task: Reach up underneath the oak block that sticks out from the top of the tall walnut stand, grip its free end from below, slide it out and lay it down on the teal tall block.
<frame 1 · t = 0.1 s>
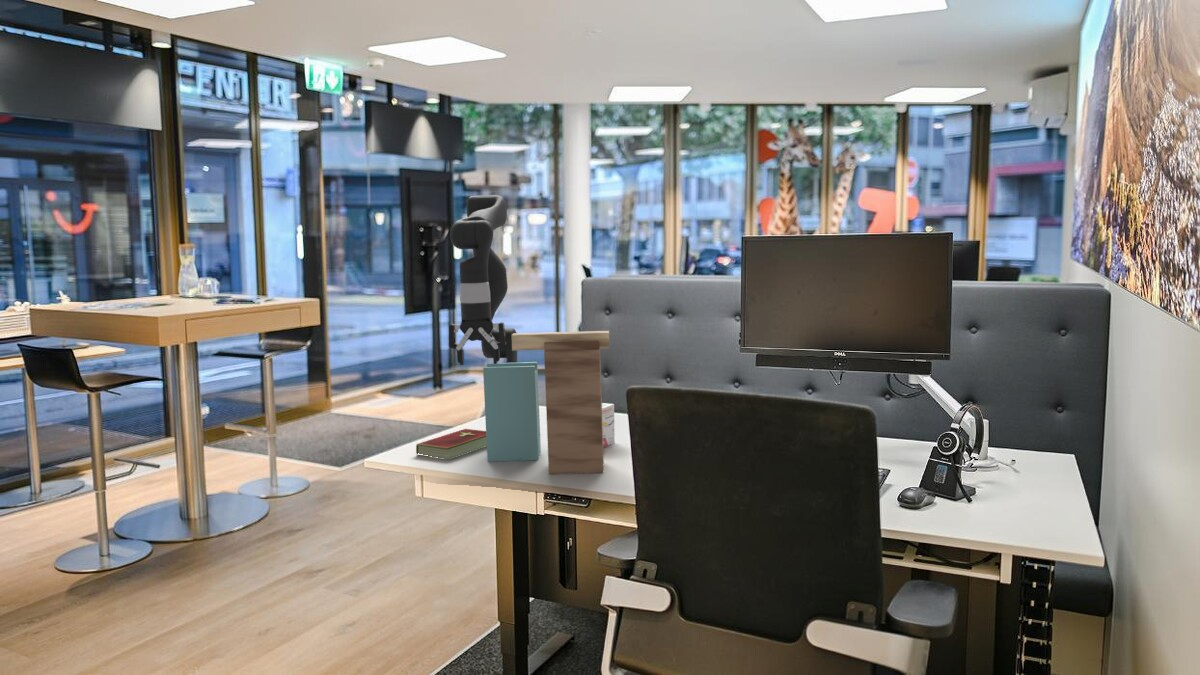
hand: (478, 363, 219), 29 cm above the table, tool pointing down, fingers open, 8 cm apart
walnut stand: (576, 468, 227), on the table
oak block: (561, 348, 223), point 32 cm above the table, touching walnut stand
hardcover book: (457, 451, 251), on the table
teal tall block: (514, 456, 240), on the table
ink cartridge box: (601, 445, 251), on the table
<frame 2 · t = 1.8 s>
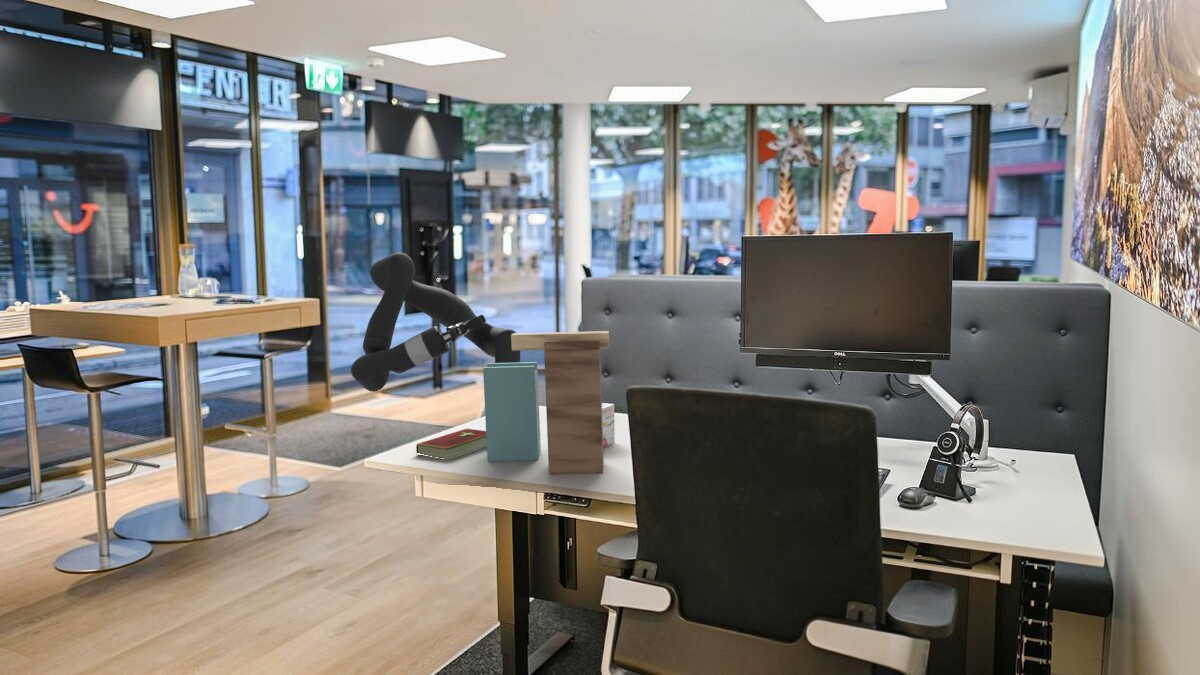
hand: (482, 318, 223), 40 cm above the table, tool pointing upward, fingers open, 8 cm apart
nothing on the table moved.
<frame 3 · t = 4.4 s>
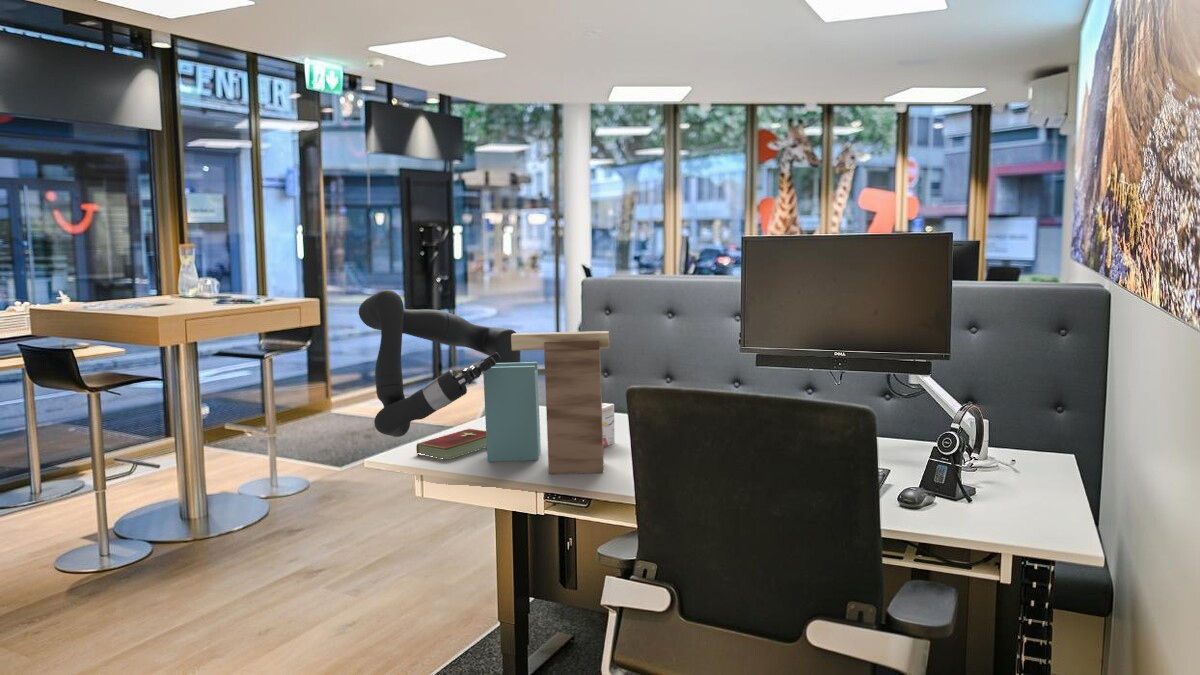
hand: (496, 357, 224), 30 cm above the table, tool pointing upward, fingers open, 8 cm apart
nothing on the table moved.
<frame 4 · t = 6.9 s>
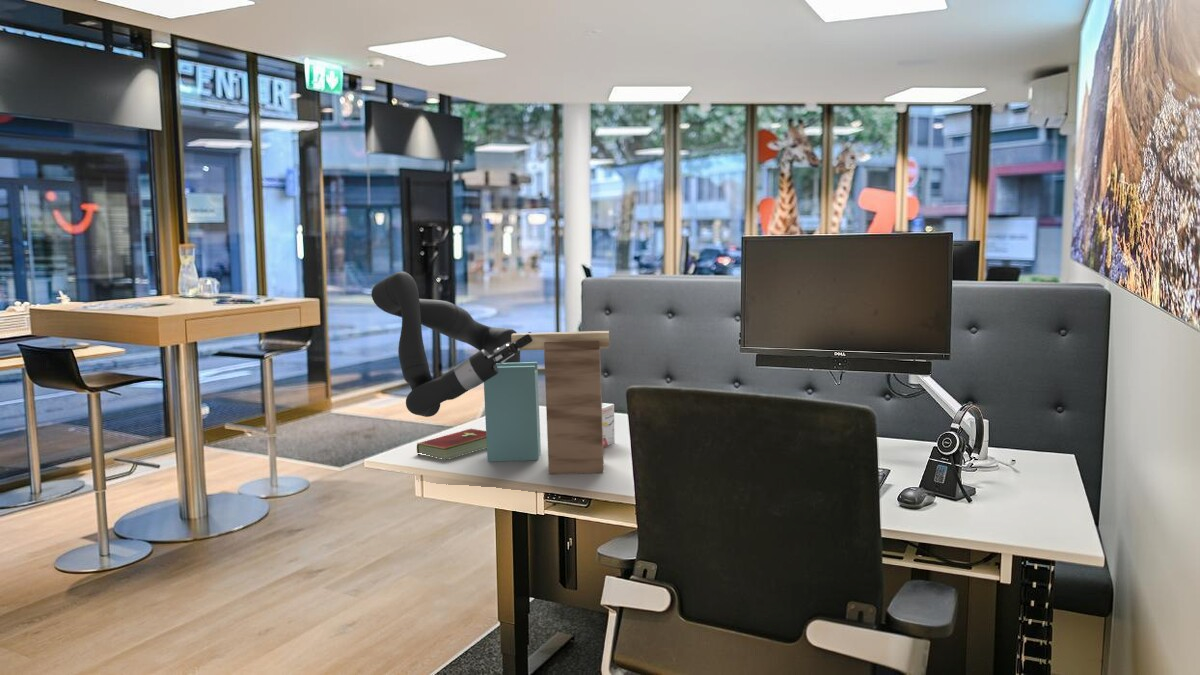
hand: (531, 336, 223), 35 cm above the table, tool pointing upward, fingers closed on oak block, 4 cm apart
oak block: (561, 348, 223), point 32 cm above the table, touching gripper, walnut stand
everything else where it was.
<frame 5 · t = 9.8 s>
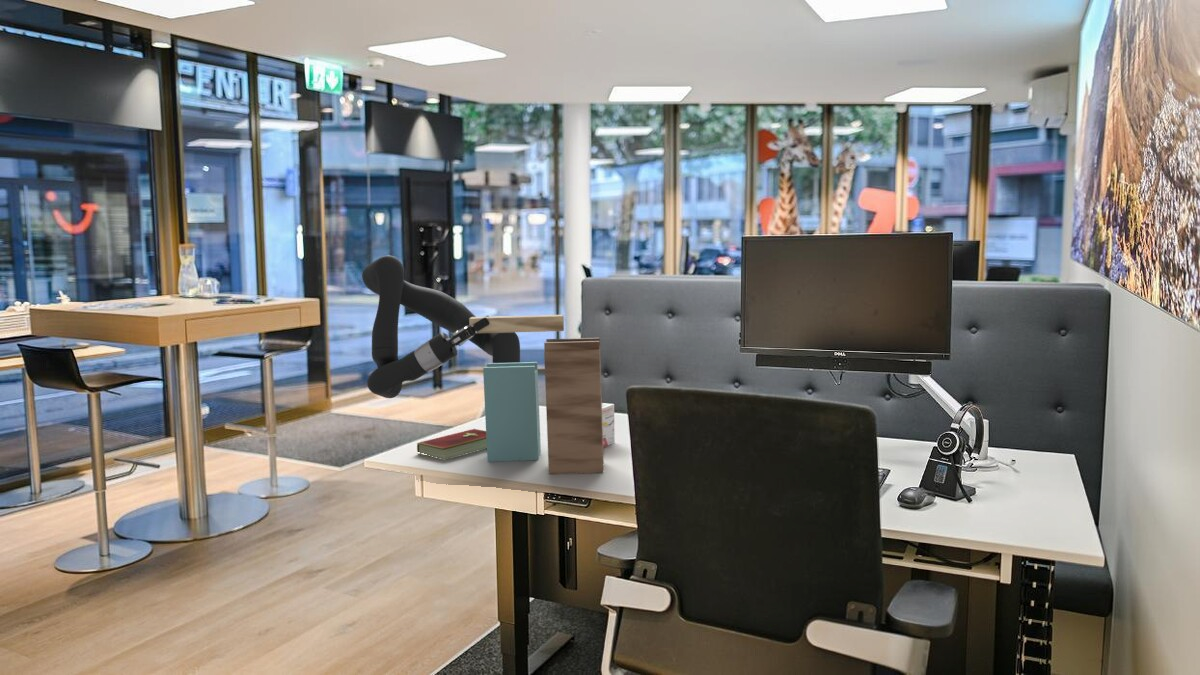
hand: (488, 319, 232), 39 cm above the table, tool pointing upward, fingers closed on oak block, 4 cm apart
oak block: (517, 331, 232), point 36 cm above the table, touching gripper
when the fingers open (29 cm above the table, at t = 12.6 s): oak block drops 1 cm, resting on teal tall block.
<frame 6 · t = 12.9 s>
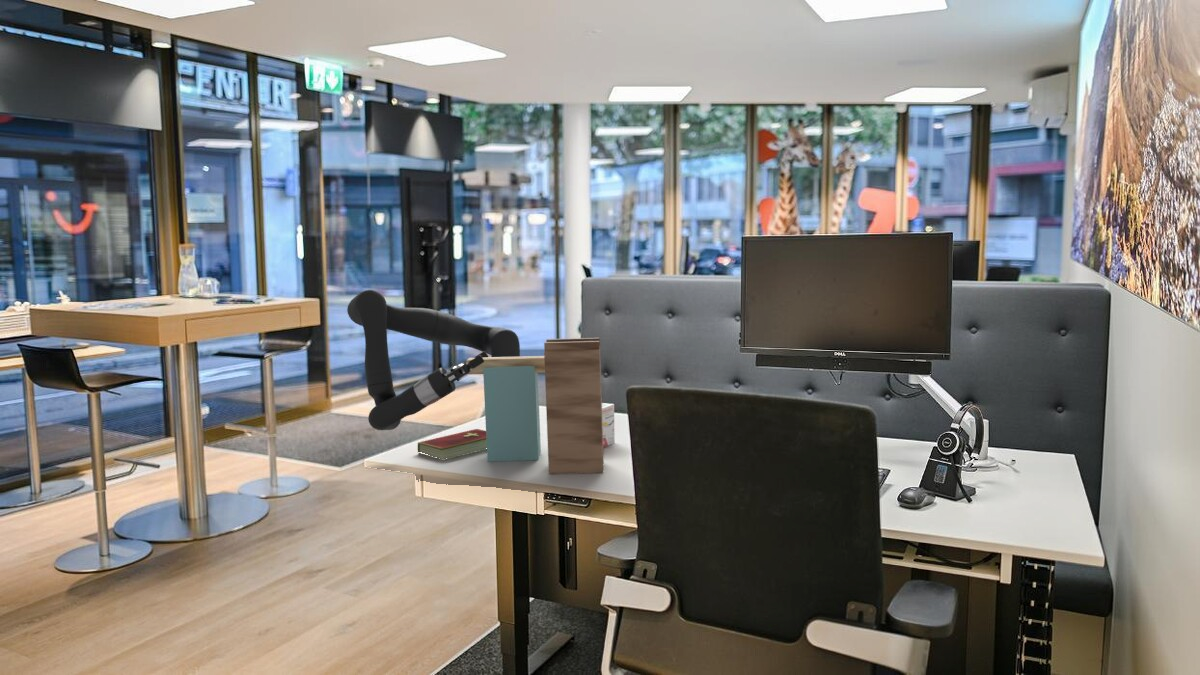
hand: (484, 356, 237), 29 cm above the table, tool pointing upward, fingers open, 7 cm apart
oak block: (513, 372, 237), point 24 cm above the table, touching teal tall block
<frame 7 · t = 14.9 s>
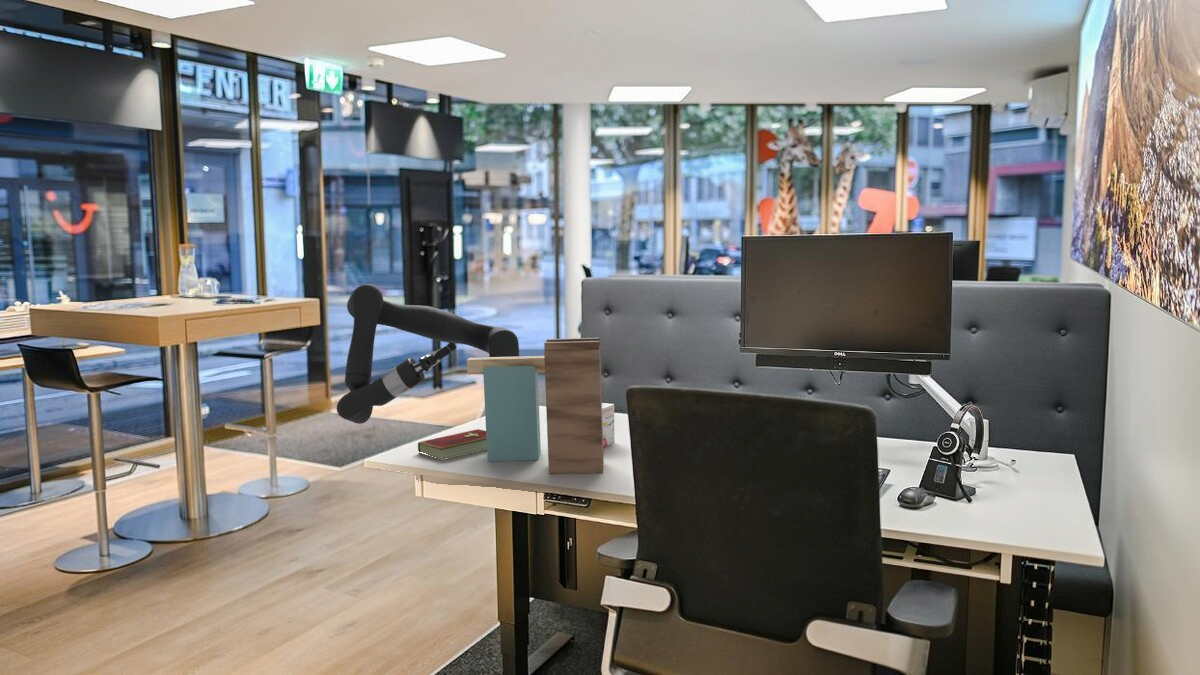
hand: (452, 346, 237), 32 cm above the table, tool pointing upward, fingers open, 8 cm apart
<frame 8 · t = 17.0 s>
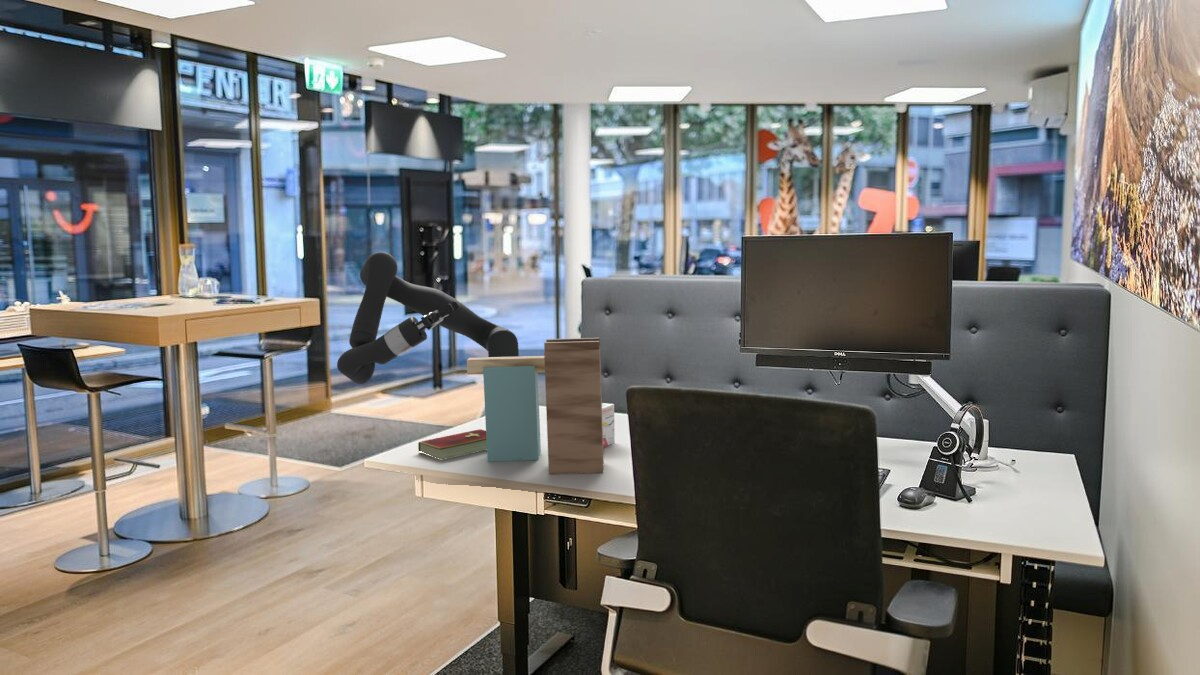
hand: (454, 305, 235), 43 cm above the table, tool pointing upward, fingers open, 8 cm apart
at the end: oak block inside the target area (0.1 cm from its centre), point 24.0 cm above the table; the gripper is holding nothing; oak block touching teal tall block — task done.
